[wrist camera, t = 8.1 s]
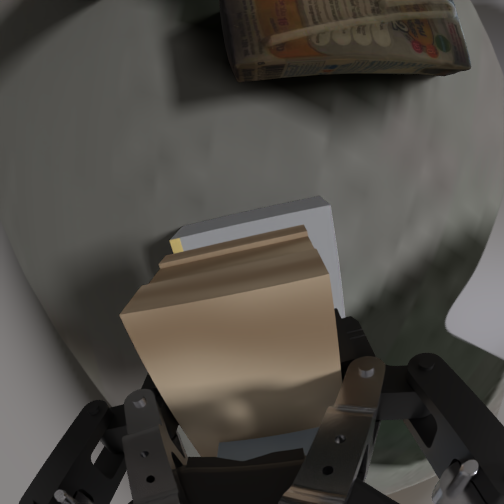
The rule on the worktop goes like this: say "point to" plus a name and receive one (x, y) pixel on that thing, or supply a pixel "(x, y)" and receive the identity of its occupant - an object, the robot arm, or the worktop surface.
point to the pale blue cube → (266, 445)
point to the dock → (270, 219)
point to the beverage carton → (342, 37)
